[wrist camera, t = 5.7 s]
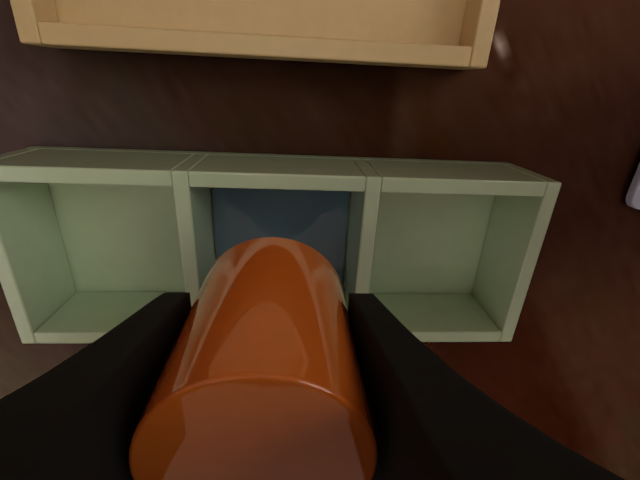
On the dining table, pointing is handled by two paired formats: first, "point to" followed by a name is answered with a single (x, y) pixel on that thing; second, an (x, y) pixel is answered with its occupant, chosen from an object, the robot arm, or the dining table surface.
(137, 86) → the dining table surface
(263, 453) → the orange cylinder
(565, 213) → the dining table surface
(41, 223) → the green compartment tray
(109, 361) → the robot arm
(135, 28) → the birch tray
